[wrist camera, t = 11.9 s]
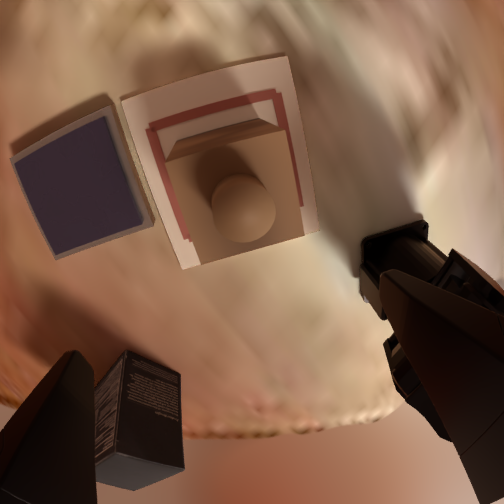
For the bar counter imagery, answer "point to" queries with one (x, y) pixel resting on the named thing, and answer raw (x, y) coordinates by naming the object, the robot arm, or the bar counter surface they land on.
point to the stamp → (236, 188)
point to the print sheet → (212, 117)
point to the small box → (138, 424)
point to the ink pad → (83, 184)
